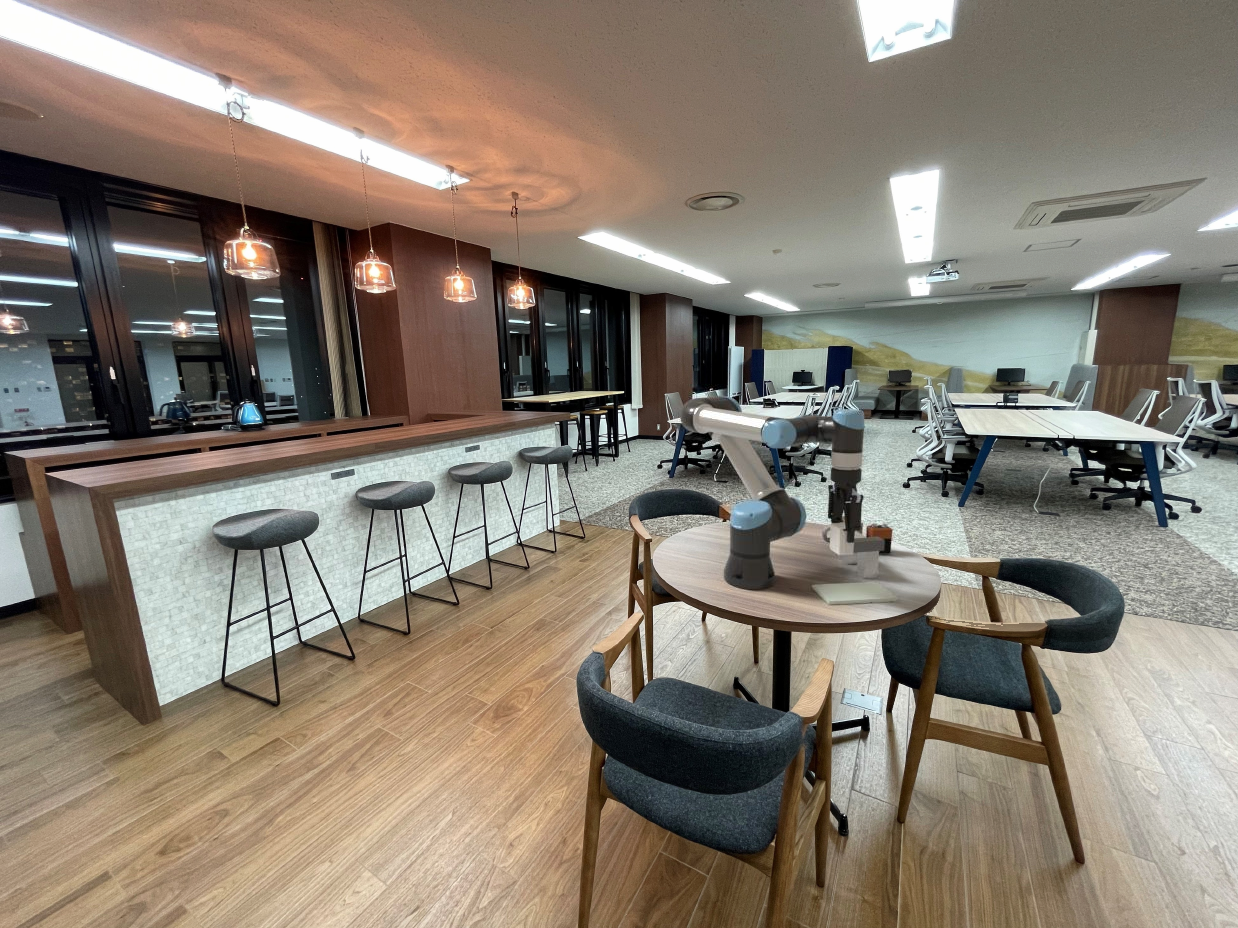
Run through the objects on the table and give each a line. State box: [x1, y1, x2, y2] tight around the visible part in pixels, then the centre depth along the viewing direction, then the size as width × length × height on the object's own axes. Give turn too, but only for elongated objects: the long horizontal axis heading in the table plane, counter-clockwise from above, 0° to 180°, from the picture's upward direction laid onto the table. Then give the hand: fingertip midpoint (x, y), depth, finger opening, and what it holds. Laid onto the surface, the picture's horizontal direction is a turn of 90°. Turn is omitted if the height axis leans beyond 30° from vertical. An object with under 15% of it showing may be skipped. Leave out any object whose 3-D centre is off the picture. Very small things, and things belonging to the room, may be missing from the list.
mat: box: [811, 581, 899, 605], centre depth 132 cm, size 19×10×1 cm, turn 93°
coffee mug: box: [821, 516, 864, 544], centre depth 166 cm, size 13×10×10 cm
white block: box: [829, 523, 885, 556], centre depth 131 cm, size 14×5×8 cm, turn 94°
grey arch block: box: [838, 531, 880, 580], centre depth 148 cm, size 4×15×10 cm, turn 3°
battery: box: [865, 523, 893, 555], centre depth 161 cm, size 4×7×10 cm, turn 89°
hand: (842, 549), depth 131 cm, fingers closed on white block, 5 cm apart
